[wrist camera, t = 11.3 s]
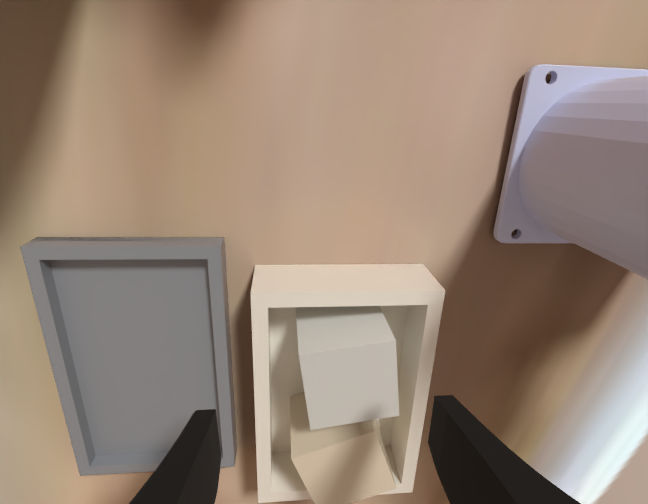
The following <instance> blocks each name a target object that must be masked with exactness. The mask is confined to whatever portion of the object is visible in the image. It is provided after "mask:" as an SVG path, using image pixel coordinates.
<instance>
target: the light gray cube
mask: <svg viewBox="0 0 648 504" xmlns="http://www.w3.org/2000/svg"><path fill="white" fill-rule="evenodd" d="M296 320H297V336H298V352H299V360H300V367H301V373H302V379H303V386H304V392H305V398H306V405H307V411H308V417H309V424H310V430H314V429H320V428H326V427H332V426H338V425H345V424H351V423H357V422H363V421H370V420H376V419H382V418H388V417H395V416H399V398H398V375H397V353H396V340H395V338H394V335H393V333H392V331H391V329H390V327H389V325H388V323H387V321H386V318H385V316H384V314H383V312H382V310H381V308H380V306H339V307H296Z"/></svg>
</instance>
